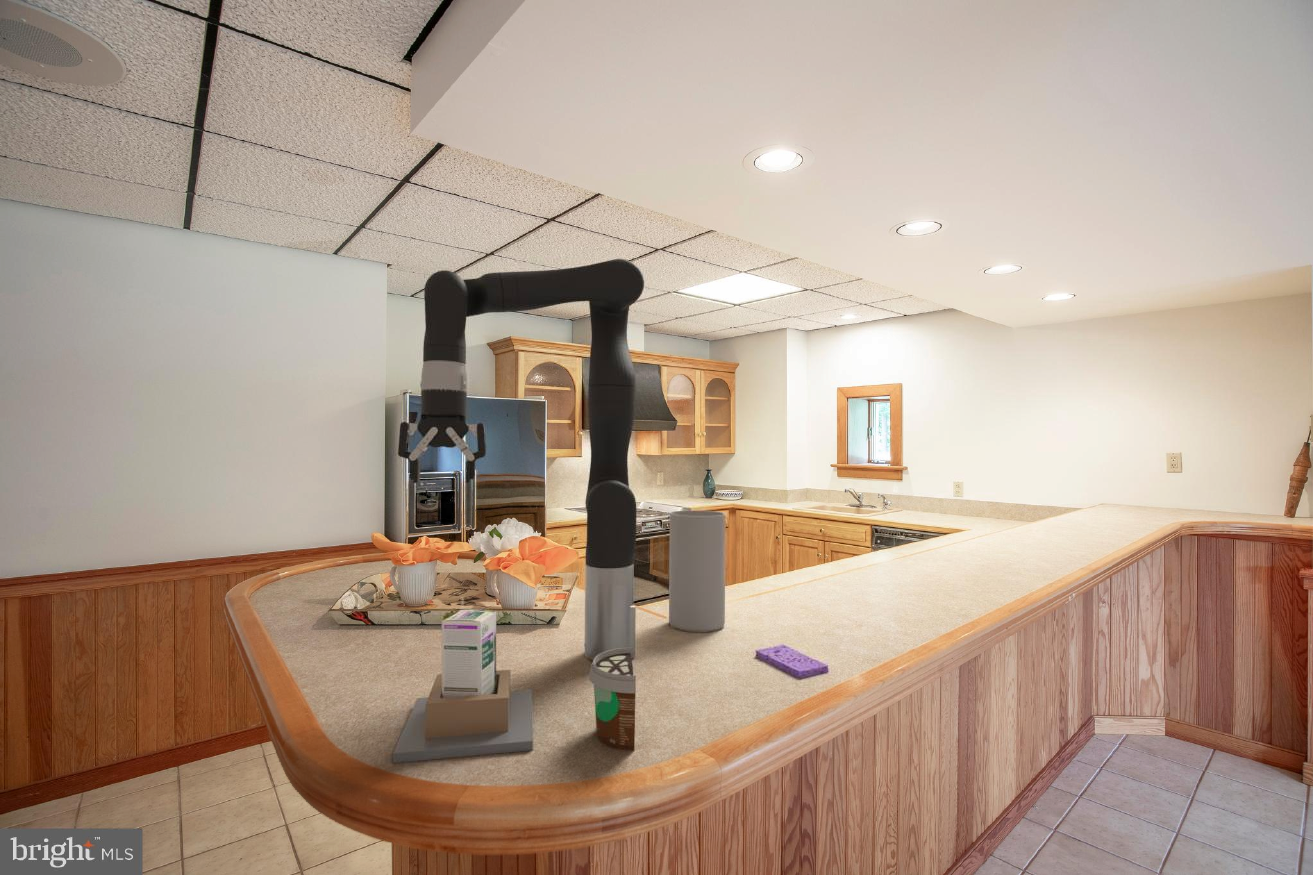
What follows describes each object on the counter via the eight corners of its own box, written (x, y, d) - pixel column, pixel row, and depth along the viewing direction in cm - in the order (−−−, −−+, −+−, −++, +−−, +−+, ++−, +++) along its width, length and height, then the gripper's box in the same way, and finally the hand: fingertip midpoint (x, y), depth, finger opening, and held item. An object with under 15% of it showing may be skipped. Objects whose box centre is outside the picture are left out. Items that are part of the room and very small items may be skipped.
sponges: (783, 653, 118) (783, 643, 118) (829, 674, 107) (829, 664, 107) (754, 659, 115) (754, 649, 115) (799, 681, 104) (799, 670, 104)
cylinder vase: (665, 617, 141) (666, 510, 141) (718, 616, 142) (719, 510, 143) (672, 634, 128) (673, 516, 129) (730, 632, 130) (731, 516, 130)
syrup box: (481, 728, 82) (482, 620, 82) (439, 725, 82) (441, 618, 83) (496, 710, 87) (498, 609, 88) (457, 707, 88) (459, 608, 88)
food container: (589, 715, 89) (590, 646, 89) (630, 713, 89) (631, 645, 90) (586, 757, 77) (587, 678, 77) (635, 756, 77) (635, 677, 77)
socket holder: (531, 697, 95) (532, 660, 95) (532, 750, 78) (533, 705, 78) (417, 705, 91) (417, 668, 92) (392, 763, 75) (393, 716, 75)
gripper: (487, 392, 110) (486, 481, 110) (404, 390, 107) (403, 481, 107) (485, 388, 103) (483, 483, 102) (395, 386, 100) (394, 484, 99)
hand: (442, 482), depth 105 cm, fingers open, 8 cm apart
